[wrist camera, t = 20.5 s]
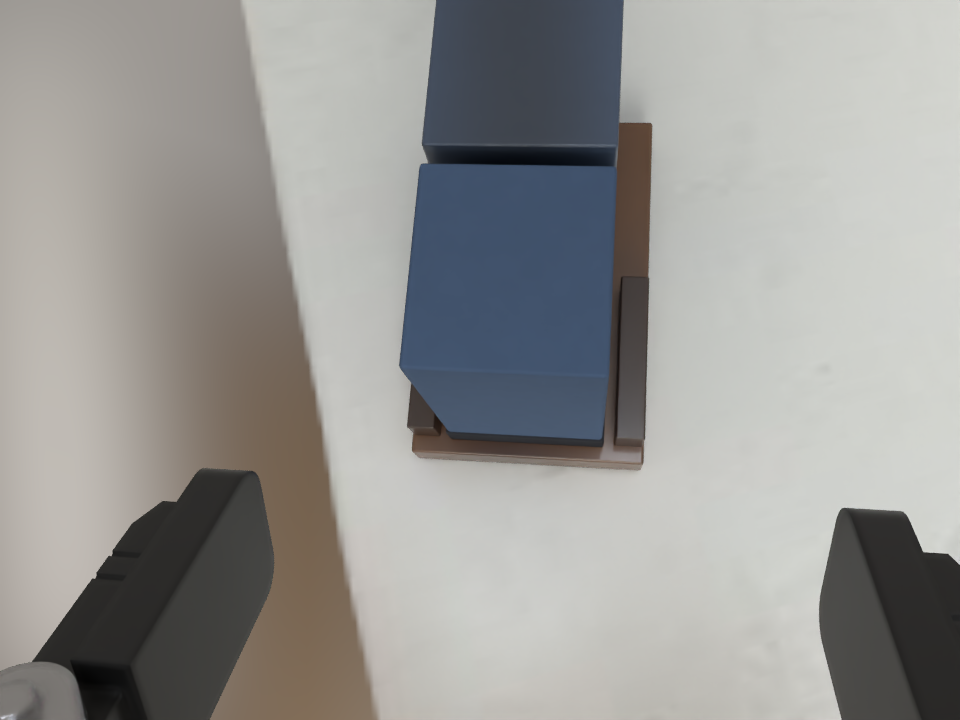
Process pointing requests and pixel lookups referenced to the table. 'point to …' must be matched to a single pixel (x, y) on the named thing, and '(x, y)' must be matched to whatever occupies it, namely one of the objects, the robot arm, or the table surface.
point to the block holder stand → (558, 142)
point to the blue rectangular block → (512, 300)
